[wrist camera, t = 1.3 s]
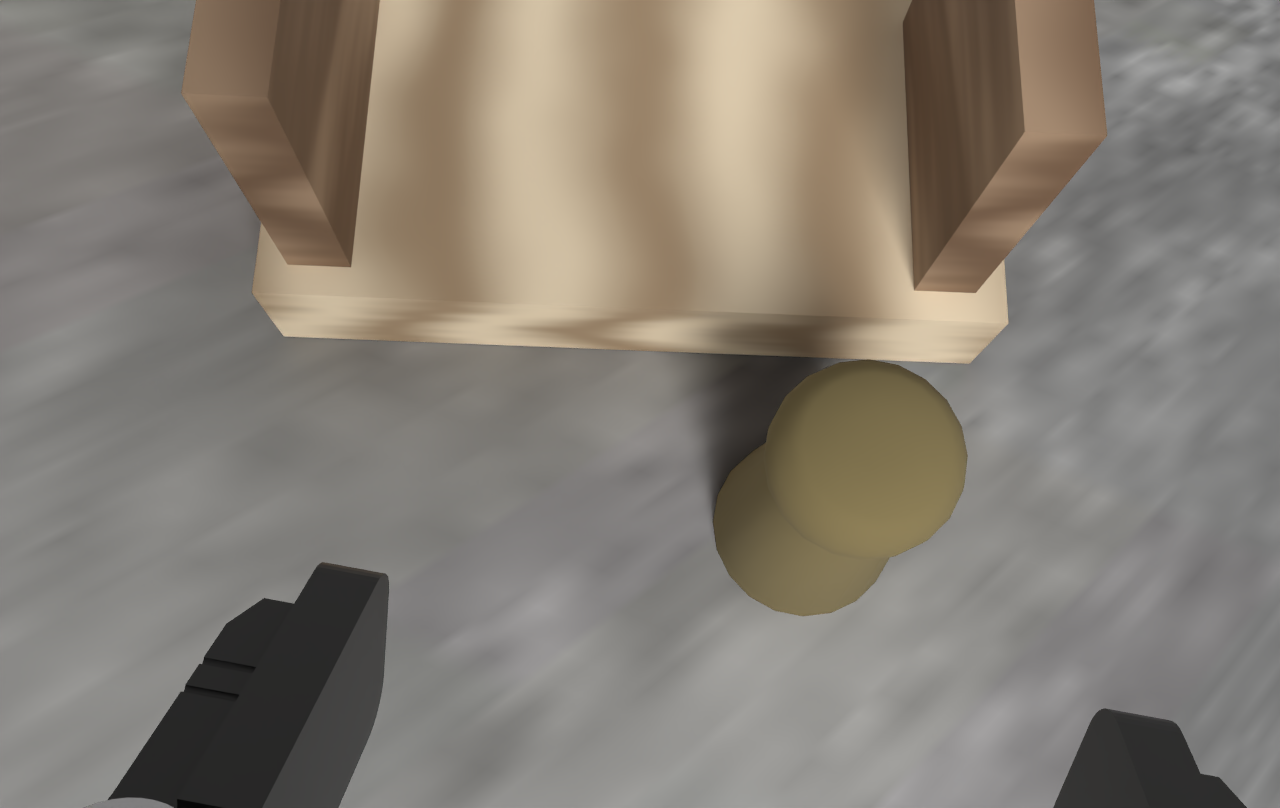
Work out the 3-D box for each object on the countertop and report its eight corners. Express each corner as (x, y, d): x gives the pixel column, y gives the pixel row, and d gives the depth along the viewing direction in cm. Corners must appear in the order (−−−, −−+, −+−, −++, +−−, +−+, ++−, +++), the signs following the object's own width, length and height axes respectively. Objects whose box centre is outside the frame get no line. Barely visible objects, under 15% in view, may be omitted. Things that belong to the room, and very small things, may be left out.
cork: (782, 404, 40) (850, 281, 30) (925, 511, 40) (1047, 423, 29) (676, 540, 39) (708, 460, 28) (823, 653, 38) (912, 615, 28)
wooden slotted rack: (283, 336, 40) (131, 129, 27) (320, 36, 44) (201, -280, 30) (969, 363, 41) (1152, 174, 28) (952, 66, 45) (1107, -229, 31)
